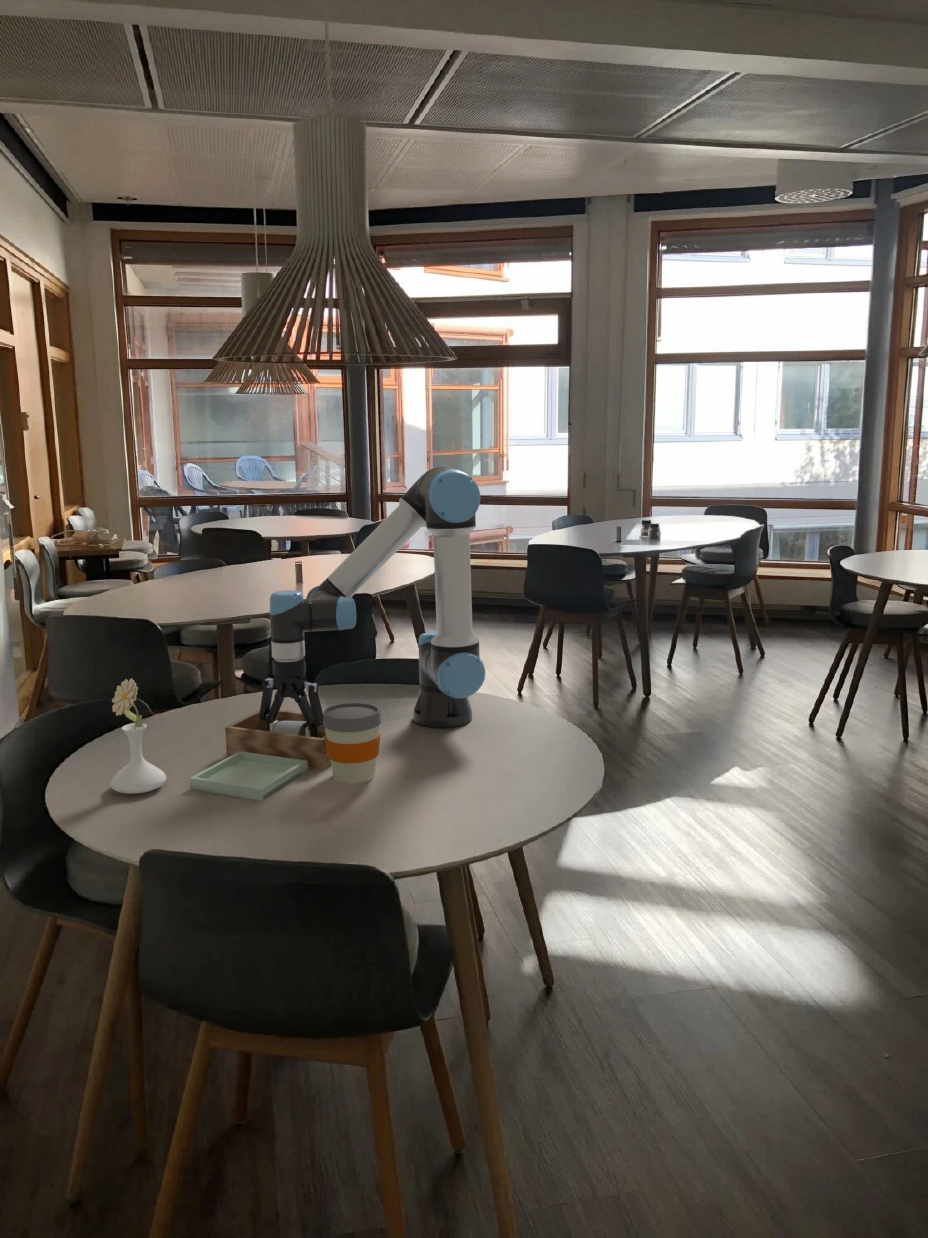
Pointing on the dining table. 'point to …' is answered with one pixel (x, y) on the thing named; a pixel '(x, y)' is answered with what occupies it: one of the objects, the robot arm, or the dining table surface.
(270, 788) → the sage tray
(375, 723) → the reusable coffee cup
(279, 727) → the ceramic mug
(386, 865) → the dining table surface
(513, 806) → the dining table surface
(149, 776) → the flower in vase
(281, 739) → the walnut box frame
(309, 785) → the dining table surface
